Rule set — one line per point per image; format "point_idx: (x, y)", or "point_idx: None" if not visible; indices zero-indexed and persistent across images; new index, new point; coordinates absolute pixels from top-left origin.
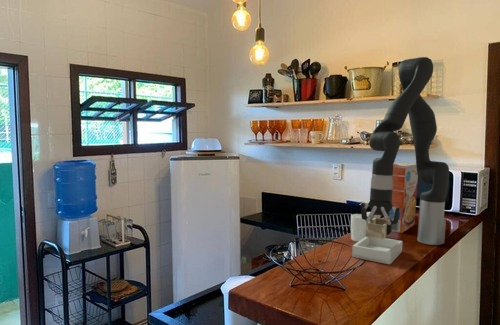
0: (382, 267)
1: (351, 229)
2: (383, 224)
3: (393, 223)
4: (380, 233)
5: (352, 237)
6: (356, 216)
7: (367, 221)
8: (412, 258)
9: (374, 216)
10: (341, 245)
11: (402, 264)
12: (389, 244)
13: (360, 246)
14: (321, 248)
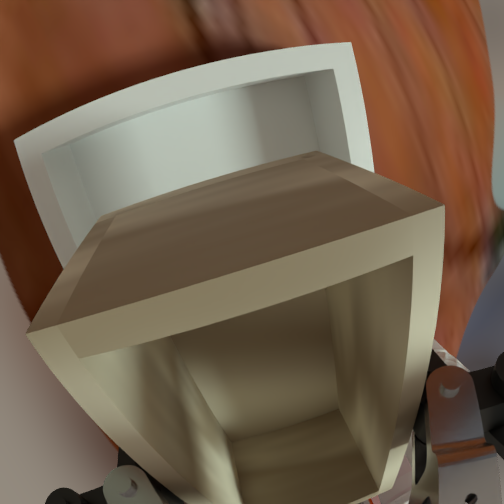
0: (55, 40)
1: (463, 366)
2: (115, 407)
3: (76, 494)
4: (118, 231)
5: (435, 342)
6: None
7: (444, 368)
8: None
9: (404, 496)
10: (446, 220)
11: (19, 207)
12: None
13: (291, 65)
14: (482, 88)
